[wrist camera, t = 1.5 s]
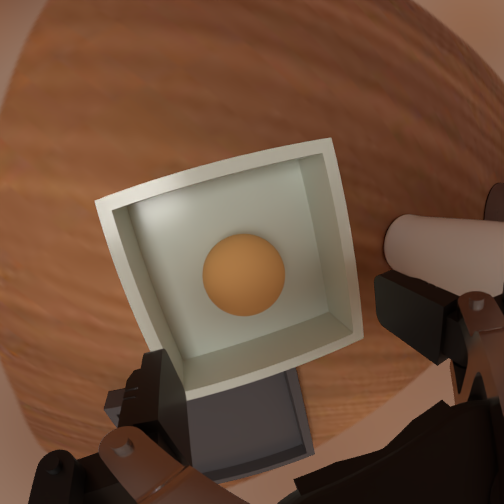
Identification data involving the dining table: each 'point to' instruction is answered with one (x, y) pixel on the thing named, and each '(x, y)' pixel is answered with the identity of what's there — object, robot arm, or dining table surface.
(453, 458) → the robot arm
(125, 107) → the dining table surface
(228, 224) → the open box
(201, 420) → the tray
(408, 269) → the drinking glass
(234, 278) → the ball
